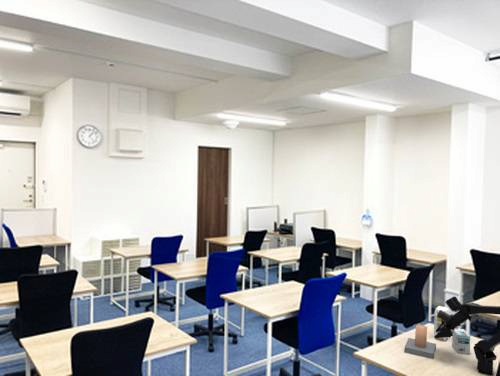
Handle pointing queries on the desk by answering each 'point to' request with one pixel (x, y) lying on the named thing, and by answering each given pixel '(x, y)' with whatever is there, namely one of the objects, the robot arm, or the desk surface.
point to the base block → (420, 349)
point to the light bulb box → (461, 341)
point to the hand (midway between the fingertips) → (435, 334)
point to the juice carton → (439, 320)
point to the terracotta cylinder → (421, 336)
